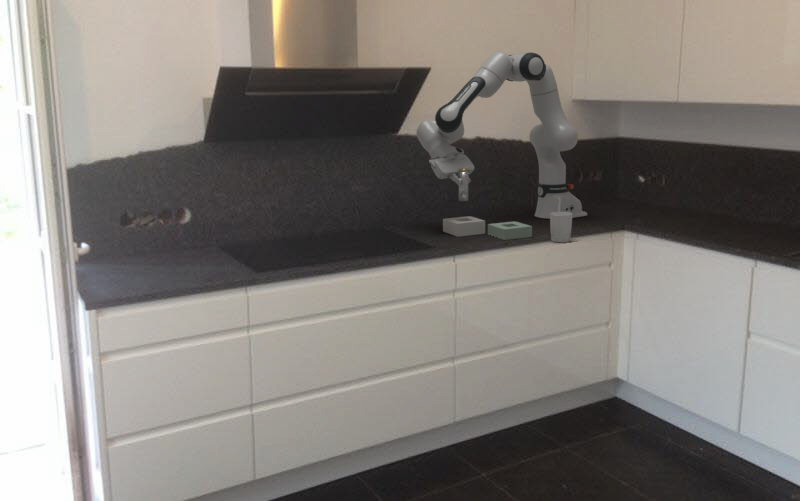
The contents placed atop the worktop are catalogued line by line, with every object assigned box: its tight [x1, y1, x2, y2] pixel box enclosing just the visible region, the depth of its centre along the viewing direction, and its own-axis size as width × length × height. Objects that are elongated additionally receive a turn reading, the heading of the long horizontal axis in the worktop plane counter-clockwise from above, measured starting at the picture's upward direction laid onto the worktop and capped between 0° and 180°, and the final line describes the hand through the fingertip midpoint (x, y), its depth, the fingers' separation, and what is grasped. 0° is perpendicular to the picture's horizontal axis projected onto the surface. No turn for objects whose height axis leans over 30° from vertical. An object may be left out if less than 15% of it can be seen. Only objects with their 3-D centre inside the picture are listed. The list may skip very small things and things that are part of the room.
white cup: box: [549, 212, 573, 244], centre depth 268 cm, size 8×8×10 cm
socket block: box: [487, 220, 533, 241], centre depth 280 cm, size 12×12×4 cm
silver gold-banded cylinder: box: [458, 168, 469, 202], centre depth 284 cm, size 4×4×12 cm
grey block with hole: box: [442, 215, 486, 238], centre depth 288 cm, size 12×12×5 cm
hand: (464, 183), depth 284 cm, fingers closed on silver gold-banded cylinder, 4 cm apart
